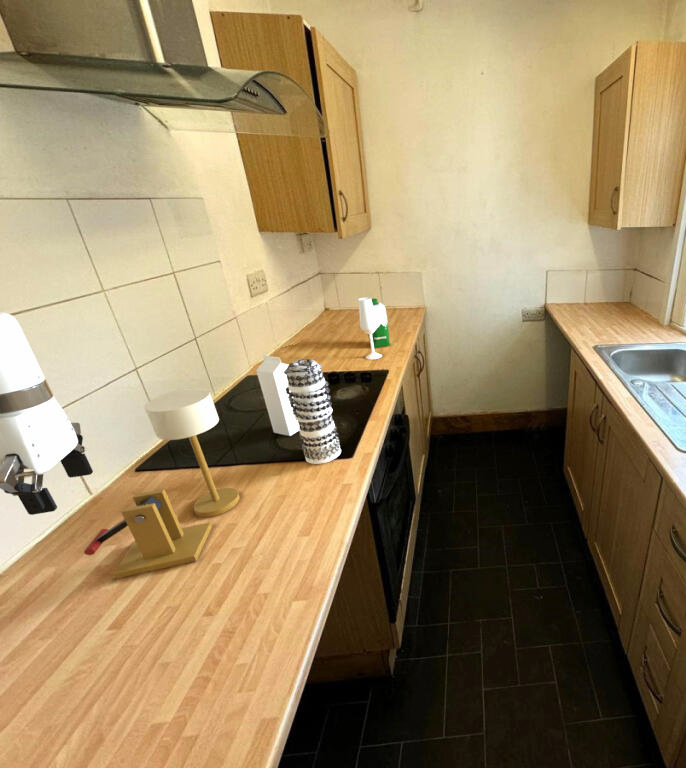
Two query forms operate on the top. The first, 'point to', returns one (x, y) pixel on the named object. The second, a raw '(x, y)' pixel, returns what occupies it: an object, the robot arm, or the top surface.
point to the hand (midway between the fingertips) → (63, 492)
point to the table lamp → (191, 438)
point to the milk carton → (380, 326)
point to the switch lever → (114, 529)
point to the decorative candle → (312, 411)
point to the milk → (277, 395)
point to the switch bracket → (159, 537)
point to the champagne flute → (368, 323)
